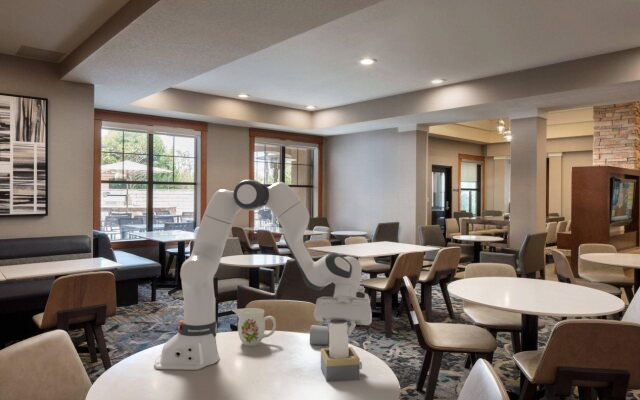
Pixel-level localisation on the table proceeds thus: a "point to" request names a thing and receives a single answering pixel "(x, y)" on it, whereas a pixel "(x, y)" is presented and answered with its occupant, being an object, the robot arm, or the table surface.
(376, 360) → the table surface
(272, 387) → the table surface
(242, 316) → the pitcher
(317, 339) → the ceramic mug
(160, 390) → the table surface
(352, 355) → the drawer
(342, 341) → the can
